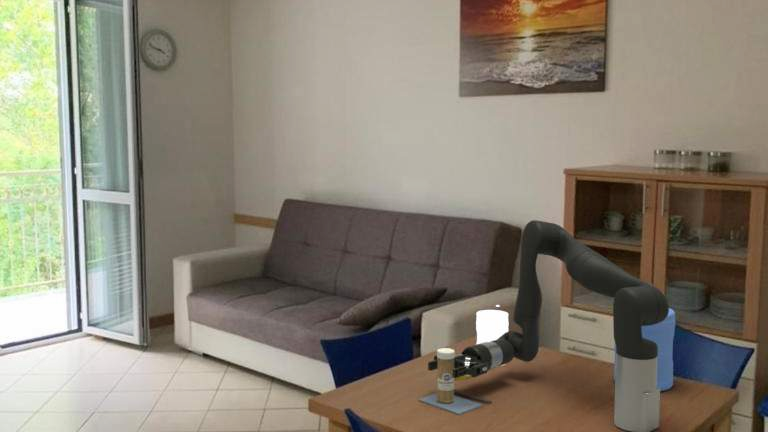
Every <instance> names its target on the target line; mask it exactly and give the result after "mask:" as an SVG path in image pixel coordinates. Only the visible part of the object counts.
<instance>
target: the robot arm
mask: <svg viewBox="0 0 768 432" xmlns="http://www.w3.org/2000/svg"><path fill="white" fill-rule="evenodd" d="M538 255H543V256H549V257H553V258H555V259H558V260H560V261H561V262H563V263H564V264H565V269H566V272H567V274H568V275H569V277H570V278H572V280H574V281H575V282H576V283H577V284H579V285H580V286H582V287H583V288H585V289H587V290H588V291H591V292H593V293H596V294H599V295H602V296H604V297H605V296H606V297H609V298H613V304H612V318H613V323H612V324H613V340H614V345H615V344H616V375H615V381H614V384H615V385H614V413H613V415H614V416H613V418H614V421H613V423H614V426H616V427H617V428H619V429H620V430H621V429H622V430H623V431H628V432H652V431H654V430H656V429H659V428H660V406H661V405H660V404H661V403H660V402H661V400H660V398H661V391H660V388H659V387H657V359H658V346H657V344H656V343H655V342H653V341H651V340H648V339H645V338H643V337H642V327H641V326H648V325H654V324H658V323H660V322H662V321H663V320H665V318H666V317H667V316H668V313H669V308H670V305H669V303H668V300H667V297H666V295H664V293H663V292H662V291H661V290H660V289H659V288H657V287H656V286H654V285H653V284H652V283H650V284H649V282H646V281H645V280H642V279H640V278H638V277H636V276H634V275H632V274H631V273H629V272H627V271H625V270H624V269H623V268H621V267H619V266H618V265H616V264H614V263H613V262H611V261H610V260H608V258H607V257H605V256H603V255H601V254H600V253H598V252H597V251H595V250H594V249H591V248H590V247H589V246H587V245H585V244H584V243H582V242H580V241H579V240H577V239H576V238H575V237H574V236H573V235H571V234H570V233H569V232H568V231H567V230H566V229H565V228H564V227H562V226H561V225H559V224H556V223H554V222H548V221H543V220H535V219H533V220H530V221H528V223H527V224H526V225H525V227H524V229H523V232H522V235H521V244H520V259H519V277H518V278H519V281H518V289H517V295H516V296H517V297H516V299H515V300H516V301H515V305H514V310H513V315H512V321H513V323H514V324H516V325H517V326H519V328H521V333H520V332H518V331H514V330H513V331H509V330H508V332H506V333H505V334H503V335H502V336H501V337H499V338H498V339H497V340H494V341H491V342H484V343H480V344H477V345H476V344H474V345H471V346H470V345H469V346H467V347H465V348H464V349H463V350H462V352H461V353H459V354H455V358H454V369H453V378H458V377H461V376H469V375H471V377H470V378H477V377H479V376H482V375H484V374H487V373H488V372H489V371H493V370H494V369H496V368H497V367H501V365H502V366H505V365H507V364H509V363H511V361H513V359H514V358H516V359H517V360H520V361H522V362H524V363H525V362H527V363H529V362H532V361H534V359H536V357H537V354H538V353H539V349H540V341H539V339H540V338H539V318H540V317H539V316H540V313H541V309H542V308H541V307H542V303H543V302H542V301H543V295H542V294H543V293H542V289H541V286H540V282H539V279H538V275H537V259H538ZM651 284H652V285H651ZM504 364H505V365H504ZM427 366H428V367H427V369H428V371H430V372H431V371H435V370H437V367H438V359H437V354H436V355H433V360H431V361H430V360H429V362H428V363H427Z"/></svg>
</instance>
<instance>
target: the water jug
mask: <svg viewBox="0 0 768 432" xmlns="http://www.w3.org/2000/svg"><path fill="white" fill-rule="evenodd" d="M648 283H649V282H648ZM649 284H651V285H653V284H652V283H649ZM641 327H642V337H643V338H645V339H648V340H651V341H653V342H655V343H656V344H657V346H658V359H657V387H659V388H660V392H665V391H667V390H670V389H672V387H673V385H674V360H673V351H674V350H673V347H674V343H673V342H674V337H675V331H676V330H675V328H676V312H675V311H674V310H673V308H671V307H669V313H668V316H667V317H666V318H665V320H663V321H662V322H660V323H658V324H654V325H648V326H641ZM613 351H614V363H613V364H614V365H613V366H614V369H613V380H614V382H615V375H616V344H615V343H614V349H613Z"/></svg>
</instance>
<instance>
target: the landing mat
mask: <svg viewBox="0 0 768 432" xmlns="http://www.w3.org/2000/svg"><path fill="white" fill-rule="evenodd" d="M418 401H419V402H422V403H424V404H427V405H430V406H431V407H436V408H438V409H442V410H443V411H447V412H449V413H450V412H451V413H453V414H456V415H457V416H458V415H459V416H460V415H463V414H466V413H468V412H470V411H473V410H475V409H478V408H479V409H480V408H481V407H483V403H479V402H476V401H472V400H470V399H467V398H464V397H461V396H457V395H456V394H454V401H453V402H452V403H441V402H438V401H437V392H436V393H432V394H431V395H427V396H424V397H421V398H418Z"/></svg>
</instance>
